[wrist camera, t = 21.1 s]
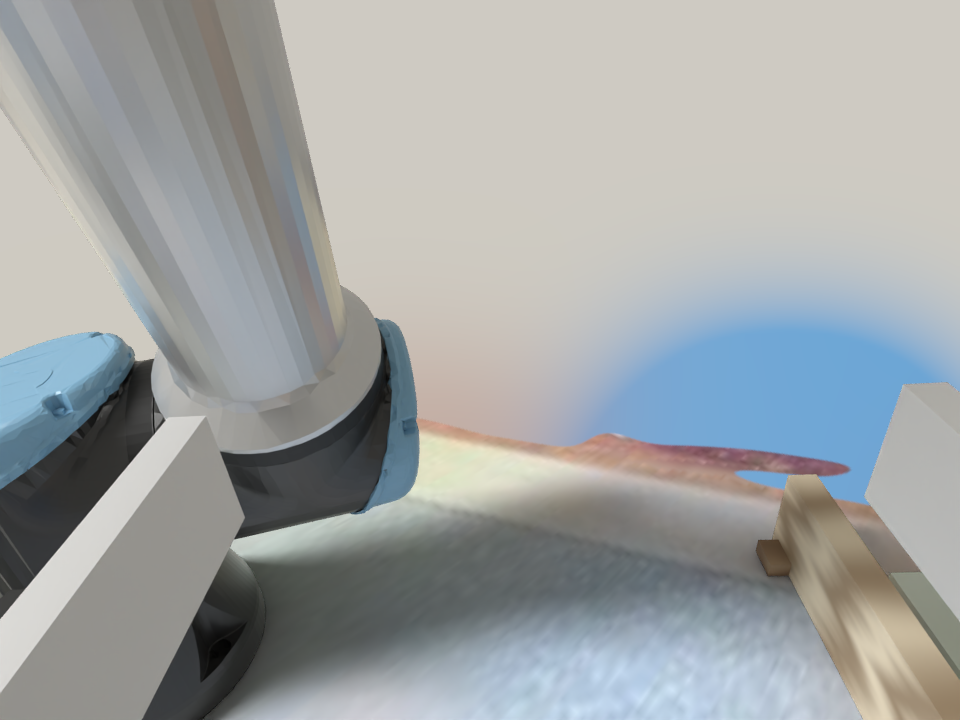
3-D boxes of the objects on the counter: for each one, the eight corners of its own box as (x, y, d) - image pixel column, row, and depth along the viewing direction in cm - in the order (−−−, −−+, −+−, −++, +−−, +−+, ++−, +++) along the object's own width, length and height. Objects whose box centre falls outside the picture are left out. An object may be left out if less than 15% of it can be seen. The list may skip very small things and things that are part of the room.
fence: (978, 806, 30) (1031, 734, 27) (878, 806, 31) (919, 735, 27) (816, 541, 46) (837, 473, 43) (752, 542, 46) (767, 476, 43)
